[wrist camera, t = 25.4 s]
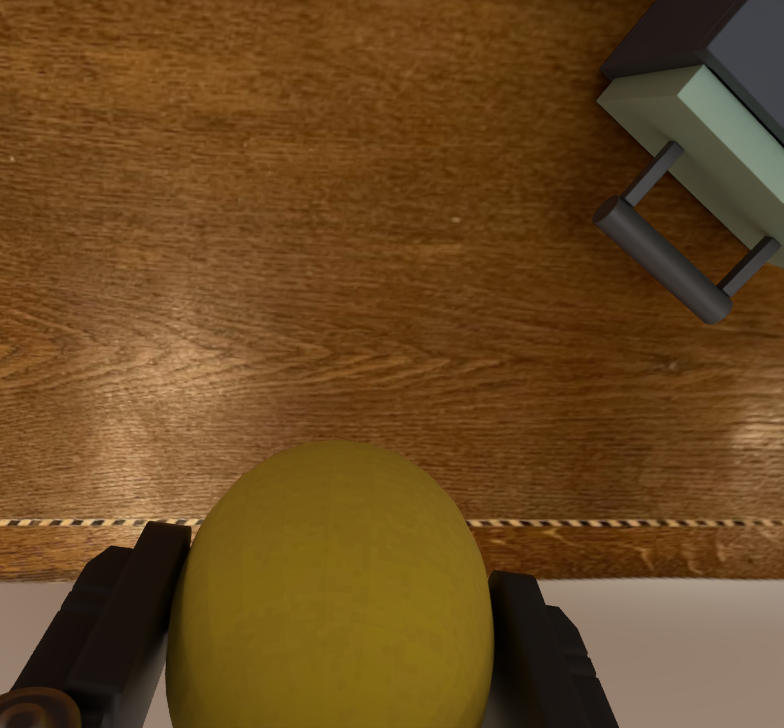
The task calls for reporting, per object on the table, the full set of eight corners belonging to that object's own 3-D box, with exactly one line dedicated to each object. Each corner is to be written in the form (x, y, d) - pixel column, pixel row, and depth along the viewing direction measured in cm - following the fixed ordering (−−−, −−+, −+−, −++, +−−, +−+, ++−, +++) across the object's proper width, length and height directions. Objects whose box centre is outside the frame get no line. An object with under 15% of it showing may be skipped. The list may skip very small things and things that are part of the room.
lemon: (273, 605, 16) (202, 1017, 9) (183, 419, 14) (-6, 752, 7) (482, 545, 16) (589, 924, 9) (420, 347, 14) (490, 617, 7)
